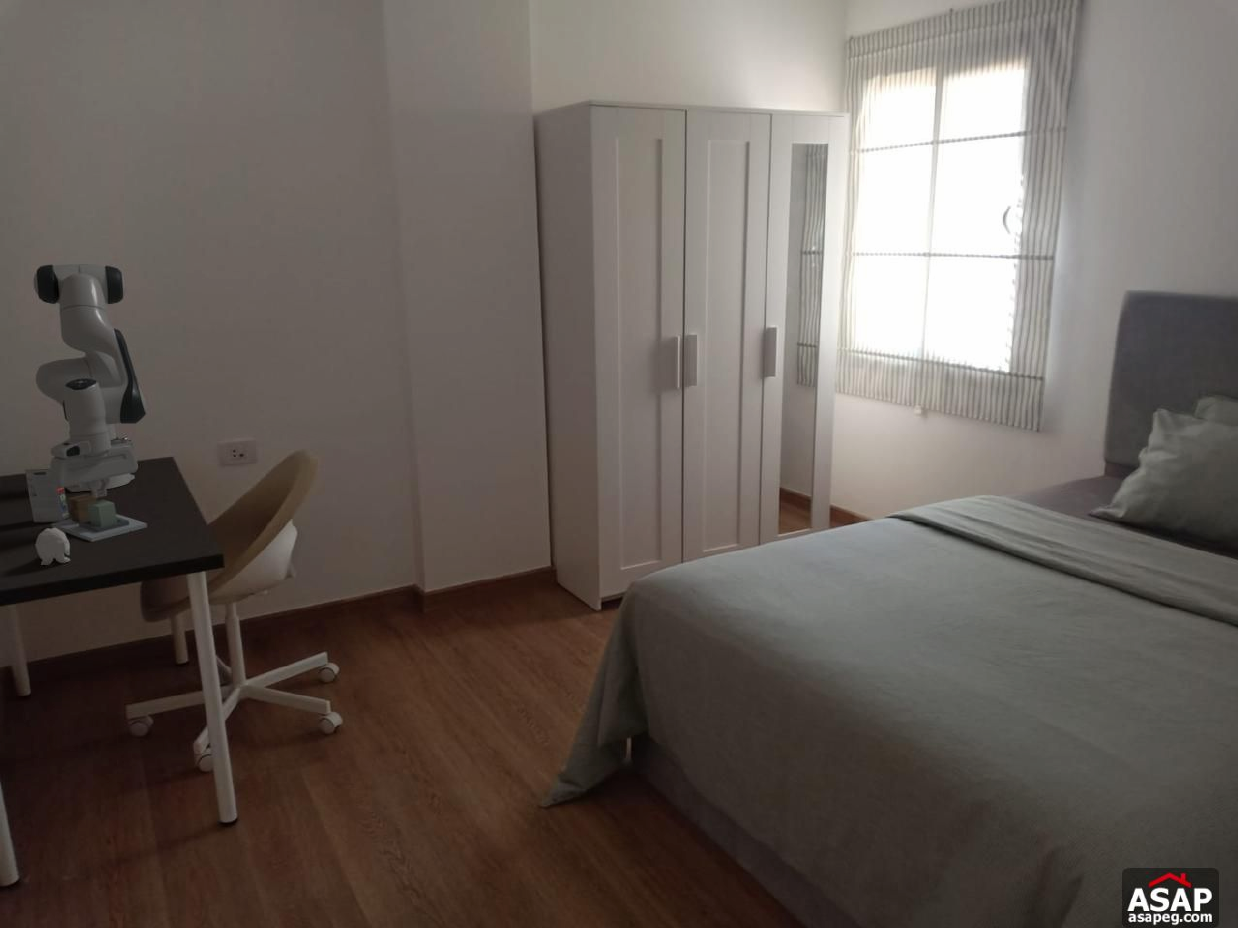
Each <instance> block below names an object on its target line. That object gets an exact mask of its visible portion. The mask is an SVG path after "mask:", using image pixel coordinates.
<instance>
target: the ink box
mask: <svg viewBox="0 0 1238 928" xmlns="http://www.w3.org/2000/svg"><path fill="white" fill-rule="evenodd" d="M39 472H41V473H45V474H35V473H39ZM25 477H26V484H27V491H28V496H29V502H30V506H31V511H32V512H31V513H32V518H33V522H34V523H57V522H61V521H65V520H69V519H71V518H70V517H71V516H70V510H69V508H68V507H69V505H68V501H67V500H68V499H67V496H66V495H67V494H66V488H65V487H64V488H59V487H56V486H55V485H53V483H52V480H51V471H50V468H39V469H32V468H31V469H25Z"/></svg>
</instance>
